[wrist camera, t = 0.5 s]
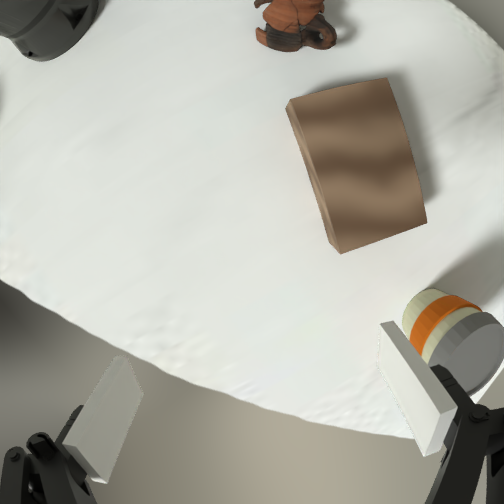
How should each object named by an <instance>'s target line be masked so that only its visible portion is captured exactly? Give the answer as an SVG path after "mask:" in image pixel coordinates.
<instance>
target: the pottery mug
mask: <svg viewBox="0 0 504 504" xmlns="http://www.w3.org/2000/svg"><path fill="white" fill-rule="evenodd" d="M323 1H324V0H255V2H254V5H255V8H259V7H260V5H262V4H265V3H271V2H272V3H271V4H269V6H268V7H267V8H266V9H265V10H264V12H263V19H264V20H265V21H266V22H267V23H266V32H265V31H263V30H262V29H260V28H259V27H258V28H256V38H257V40H258V41H259V42H260V43H262V44H263V45H265V46H267V47H269V48H271V49H274V50H278V51H282V52H295V51H298V49H299V48H300V47H301V46H302V45H304V46H310V47H312V48H315V49H320V50H326V49H330V48H331V47H332V46H335V44H336V39H337V34H336V31H335V29H334V28H333V27H332V26H331V25H330V24H329V23H328V22H327V21H326V20H325V19H324V16H323V15H321V14H318V13H319V12H320V13H324V4H323ZM299 25H301V26H306V28H305V29H304V30H302V31H300V26H299ZM320 33H321V34H322V35H323V39H321V38H320V37H319V34H320Z"/></svg>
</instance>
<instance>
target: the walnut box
mask: <svg viewBox="0 0 504 504" xmlns="http://www.w3.org/2000/svg"><path fill="white" fill-rule="evenodd" d="M285 109H286V112H287V115H288V117H289V120H290V123H291V126H292V128H293V131H294V134H295V137H296V139H297V142H298V145H299V148H300V151H301V154H302V157H303V160H304V163H305V166H306V169H307V172H308V175H309V178H310V181H311V184H312V187H313V190H314V193H315V197H316V200H317V203H318V206H319V210H320V213H321V216H322V220H323V223H324V226H325V230H326V233H327V237H328V240H329V243H330V244H331V245H332V246H333V247H334V248H335V249H336V250H337V251H338V252H339V253H340V254H343V253H346V252H349V251H351V250H354V249H357V248H360V247H363V246H366V245H368V244H371V243H374V242H377V241H380V240H382V239H385V238H388V237H391V236H394V235H396V234H399V233H402V232H404V231H407V230H410V229H413V228H415V227H418V226H421V225H423V224H426V223H427V217H426V212H425V207H424V202H423V197H422V192H421V188H420V183H419V179H418V175H417V171H416V167H415V163H414V159H413V155H412V151H411V148H410V144H409V141H408V137H407V134H406V131H405V128H404V124H403V121H402V118H401V115H400V112H399V109H398V106H397V104H396V101H395V98H394V95H393V92H392V90H391V87H390V84H389V82H388V79H387V78H381V79H376V80H370V81H365V82H360V83H355V84H350V85H346V86H341V87H337V88H332V89H328V90H324V91H320V92H316V93H312V94H308V95H304V96H300V97H297V98H293V99H290V101H289V103H288V105H287V106H286V108H285Z"/></svg>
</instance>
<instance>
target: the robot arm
mask: <svg viewBox="0 0 504 504" xmlns="http://www.w3.org/2000/svg"><path fill="white" fill-rule="evenodd" d="M97 8H98V0H0V35H1V36H4V37H6V38H9V39H10V40H11V41H12V42H13V44H14V45H15V46H16V47H17V48H18V50H19V51H20V52H21V53H22V54H23V55H24V56H25V57H27V58H29V59H32V60H35V61H39V62H42V61H48V60H51V59H54V58H56V57H58V56H60V55H61V54H63V53H64V52H66V51H67V50H68V49H70V48H71V47H72V46H73V45H74V44H75V43H76V42H77V41H78V40H79V39H80V38H81V37H82V36H83V34H84V33H85V32H86V30H87V29H88V28H89V26H90V24H91V23H92V21H93V19H94V17H95V14H96V11H97ZM377 367H378V369H379V371H380V373H381V375H382V376H383V378H384V380H385V382H386V384H387V386H388V388H389V389H390V391H391V393H392V395H393V397H394V399H395V401H396V403H397V405H398V407H399V409H400V410H401V412H402V414H403V416H404V418H405V420H406V422H407V424H408V426H409V428H410V430H411V432H412V434H413V436H414V438H415V440H416V442H417V444H418V446H419V448H420V450H421V452H422V455H423V457H425V456H428V455H430V454H433V453H435V452H438V451H440V449H441V447H442V445H443V442H444V444H445V446H446V448H447V450H446V452H445V454H444V456H443V458H442V460H441V462H442V463H441V466H440V469H439V471H438V474H437V476H436V479H435V481H434V484H433V486H432V488H431V491H430V493H429V495H428V497H427V500H426V502H425V504H471V503H472V500H473V496H474V493H475V490H476V487H477V484H478V480H479V476H480V473H481V469H482V465H483V461H484V457H485V456H487V494H486V504H504V408H499V409H494V410H489V409H488V408H487V407H486V406H483V405H480V404H475V403H474V402H473V401H472V400H471V398H470V397H469V396H468V394H467V393H466V392H465V391H464V389H463V388H462V387H461V385H460V384H458V382H457V380H456V379H455V378H454V377H453V375H452V374H451V373H450V371H449V370H448V369H446V368H445V367H443V366H441V365H440V364H438V365H435V366H432V367H429V366H428V365H427V364H426V362H425V361H424V360H423V358H422V357H421V356H420V354H419V353H418V352H417V350H416V349H415V348H414V347H413V345H412V344H411V343H410V341H409V340H408V339H407V338H406V336H405V335H404V334H403V332H402V331H401V330H400V329H399V327H398V326H397V325H396V324H395V322H394V321H390V322H385V323H381V324H380V326H379V345H378V359H377ZM142 396H143V391H142V389H141V387H140V385H139V383H138V381H137V378H136V376H135V374H134V371H133V369H132V367H131V364H130V362H129V360H128V357H127V356H115V357H114V359H113V360H112V362H111V363H110V365H109V366H108V368H107V369H106V371H105V373H104V374H103V376H102V378H101V379H100V381H99V382H98V384H97V386H96V387H95V389H94V391H93V392H92V394H91V395H90V397H89V398H88V400H87V402H86V403H85V405H80V406H79V407H78V408H77V409H76V410H75V411H73V413H72V414H71V416H70V418H69V420H68V421H67V423H66V426H64V428H63V429H62V431H61V432H60V434H59V436H58V438H57V439H56V441H55V443H54V442H53V441H52V439H51V438H50V437H49V435H48V434H46V433H44V432H39V433H36V434H34V435H32V436H31V437H30V438H29V439H28V441H27V445H26V446H27V448H28V449H29V450H30V452H31V453H32V454H27V453H26V452H25V451H24V450H23V448H21V447H13V448H11V449H9V450H8V451H7V453H6V455H5V458H4V464H3V470H2V477H1V485H0V504H97V502H96V500H95V498H94V496H93V493H92V491H91V489H90V487H89V484H88V483H87V481H86V480H85V478H86V475H87V474H88V475H89V477H90V478H91V479H92V480H93V481H96V482H101V483H105V484H107V483H108V480H109V478H110V475H111V473H112V470H113V467H114V465H115V462H116V460H117V457H118V455H119V452H120V450H121V447H122V445H123V442H124V440H125V437H126V435H127V432H128V430H129V427H130V425H131V423H132V420H133V418H134V415H135V413H136V411H137V408H138V406H139V403H140V401H141V399H142ZM29 488H30V489H29Z"/></svg>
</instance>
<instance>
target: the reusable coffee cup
mask: <svg viewBox="0 0 504 504" xmlns="http://www.w3.org/2000/svg"><path fill="white" fill-rule="evenodd" d="M402 326H403V330H404V332H405V334H406V335H407V337H408V339H409V341H410V343H411V344H412V345H413V347H414V348H415V349H416V350H417V352H418V353H419V354H420V356H421V357H422V358H423V360H424V361H425V362H426V364H427V365H428V366H429V367H432V366H435V365H438V364H440V365H441V366H443V367H445V368H446V369H448V370H449V371H450V373H451V374H452V375H453V377H454V378H455V379H456V380H457V382H458V384H460V385H461V387H462V388H463V389H464V391H465V392H466V393H467V394H468V396H469V397H470V396H472V395H473V394H475V393H476V392H478V391H479V390H480V389H481V388H483V387H484V386H485V385H486V384H487V383H488V382H489V381H490V379H491V378H492V377H493V376H494V374H495V373H496V371H497V370H498V368H499V367H500V365H501V363H502V361H503V359H504V327H503V326H502V325H501V324H500V323H499V322H498V321H497V320H496V319H495V318H494V317H493V316H492V315H491V314H490V313H487V312H482V310H481V309H480V308H479V307H478V306H476V305H474V304H472V303H470V302H468V301H466V300H464V299H462V298H460V297H458V296H454V295H448V294H446V293H444V292H442V291H440V290H437V289H427V290H424V291H422V292H420V293H418V294H417V295H416V296H415V297H414V298H413V299H412V300H411V301H410V302H409V303H408V305H407V307H406V309H405V311H404V314H403V318H402Z"/></svg>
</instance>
